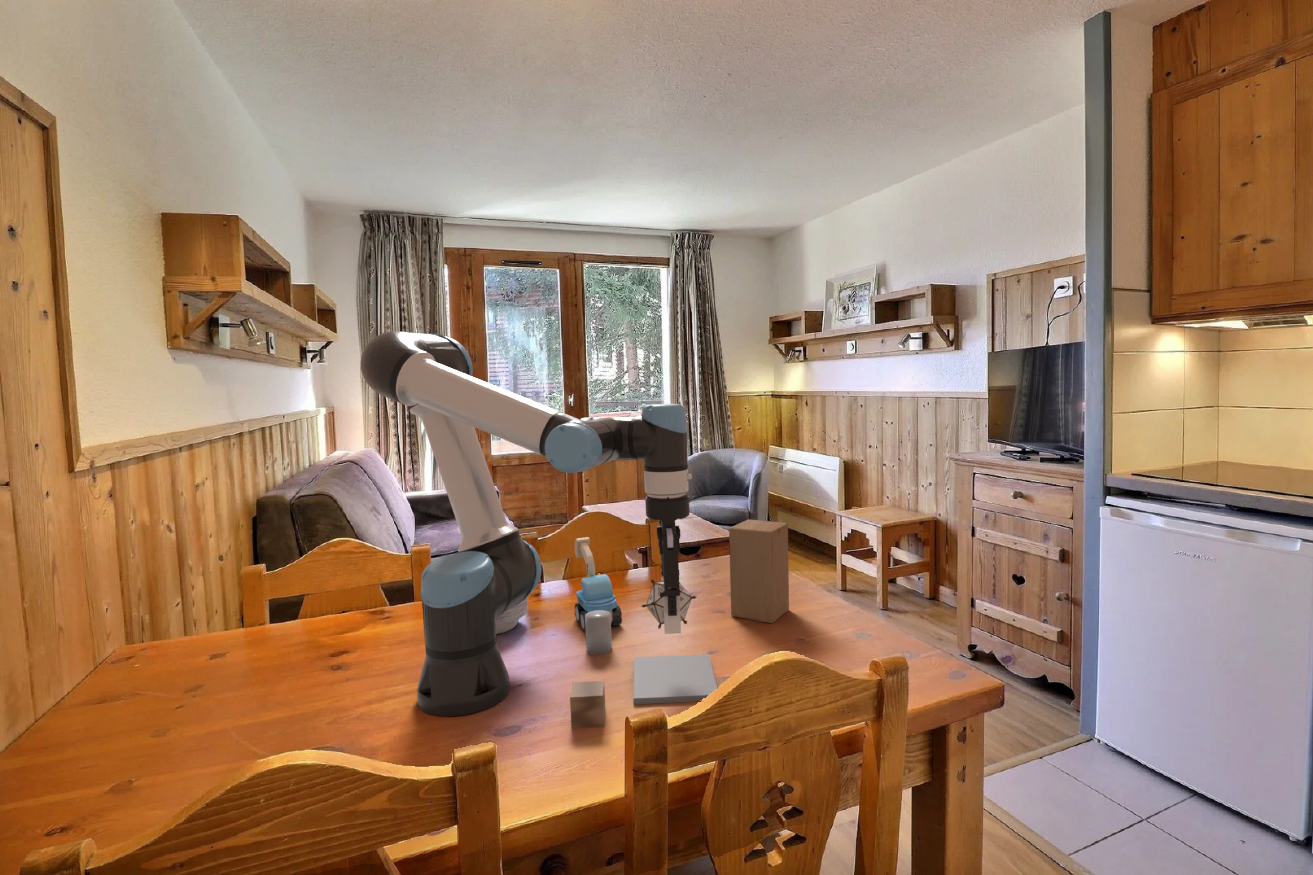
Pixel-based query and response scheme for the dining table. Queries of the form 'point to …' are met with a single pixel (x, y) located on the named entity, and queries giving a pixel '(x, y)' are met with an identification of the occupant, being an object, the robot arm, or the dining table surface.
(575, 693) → the walnut block
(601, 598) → the toy excavator
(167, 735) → the dining table surface
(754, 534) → the wooden block
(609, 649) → the grey cylinder
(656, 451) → the robot arm
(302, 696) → the dining table surface
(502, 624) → the paper bowls
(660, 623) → the game die
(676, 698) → the slate board
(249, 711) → the dining table surface
